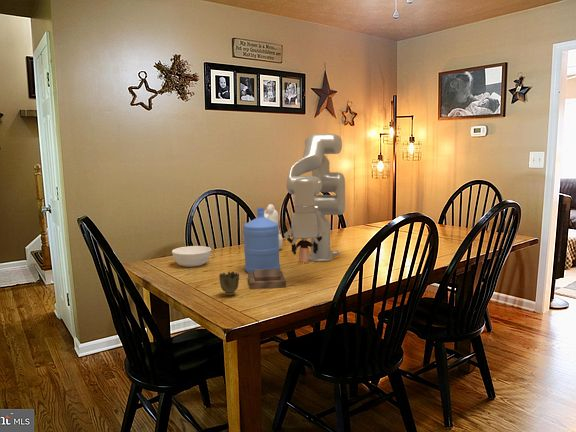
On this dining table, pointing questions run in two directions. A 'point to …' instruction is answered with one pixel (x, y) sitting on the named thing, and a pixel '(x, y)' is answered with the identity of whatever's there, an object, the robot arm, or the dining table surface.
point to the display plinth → (267, 283)
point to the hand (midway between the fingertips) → (304, 253)
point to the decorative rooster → (273, 219)
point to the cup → (229, 283)
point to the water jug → (261, 243)
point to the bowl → (191, 255)
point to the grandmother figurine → (304, 250)
